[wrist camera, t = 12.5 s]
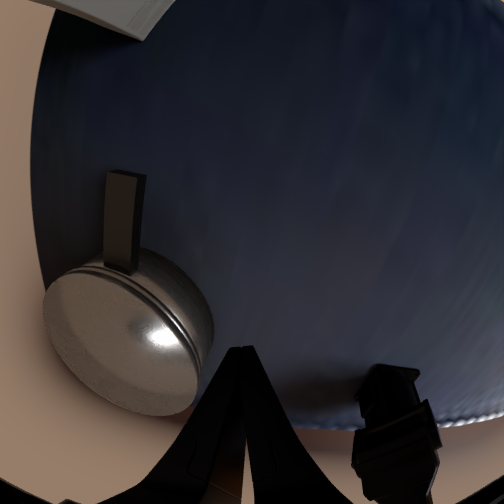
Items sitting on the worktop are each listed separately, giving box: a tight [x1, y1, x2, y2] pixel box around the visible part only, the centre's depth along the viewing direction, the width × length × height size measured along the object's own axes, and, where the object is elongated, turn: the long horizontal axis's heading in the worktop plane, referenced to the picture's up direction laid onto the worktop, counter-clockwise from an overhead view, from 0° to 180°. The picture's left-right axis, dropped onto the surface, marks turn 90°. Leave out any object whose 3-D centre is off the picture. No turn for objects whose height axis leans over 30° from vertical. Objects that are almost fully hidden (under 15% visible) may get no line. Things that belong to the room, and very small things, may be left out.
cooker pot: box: [65, 170, 214, 387], centre depth 25 cm, size 18×25×6 cm
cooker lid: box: [43, 270, 200, 416], centre depth 23 cm, size 18×18×1 cm
